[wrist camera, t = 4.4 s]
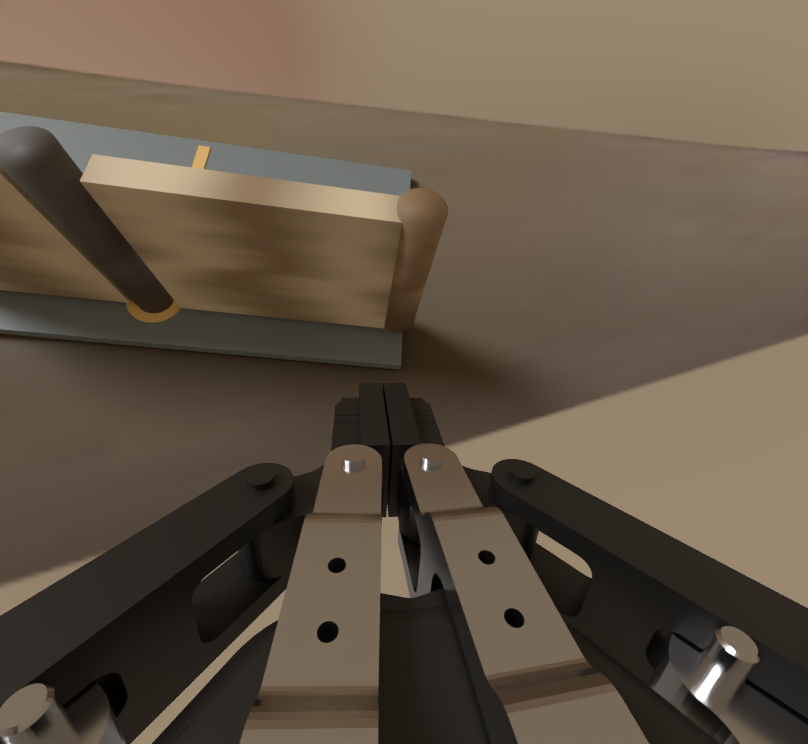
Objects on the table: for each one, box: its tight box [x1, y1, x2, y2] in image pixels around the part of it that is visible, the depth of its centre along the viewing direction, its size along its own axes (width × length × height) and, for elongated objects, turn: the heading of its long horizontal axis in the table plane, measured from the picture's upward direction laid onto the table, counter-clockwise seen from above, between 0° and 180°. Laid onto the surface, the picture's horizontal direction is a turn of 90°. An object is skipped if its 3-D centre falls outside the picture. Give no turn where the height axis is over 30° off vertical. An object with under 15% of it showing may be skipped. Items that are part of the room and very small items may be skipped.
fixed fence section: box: [0, 126, 174, 313], centre depth 16 cm, size 10×2×10 cm, turn 87°
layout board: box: [0, 112, 411, 370], centre depth 22 cm, size 25×14×1 cm, turn 88°
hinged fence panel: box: [80, 154, 448, 333], centre depth 17 cm, size 12×2×8 cm, turn 87°
